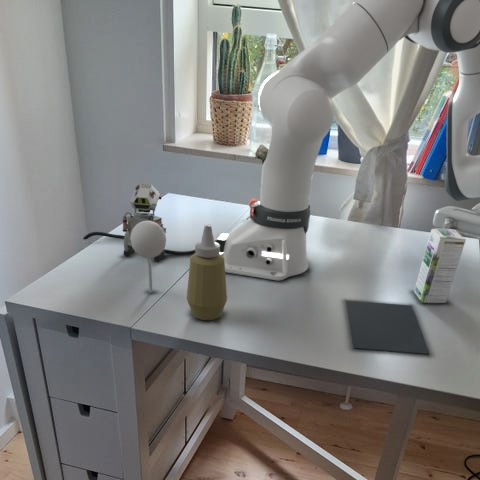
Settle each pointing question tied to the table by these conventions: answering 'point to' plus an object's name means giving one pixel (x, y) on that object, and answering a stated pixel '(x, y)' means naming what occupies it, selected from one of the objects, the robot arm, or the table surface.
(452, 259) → the syrup box
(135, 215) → the figurine
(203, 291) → the squeeze bottle
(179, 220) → the table surface
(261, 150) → the plant with pod
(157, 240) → the lollipop
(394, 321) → the mat
